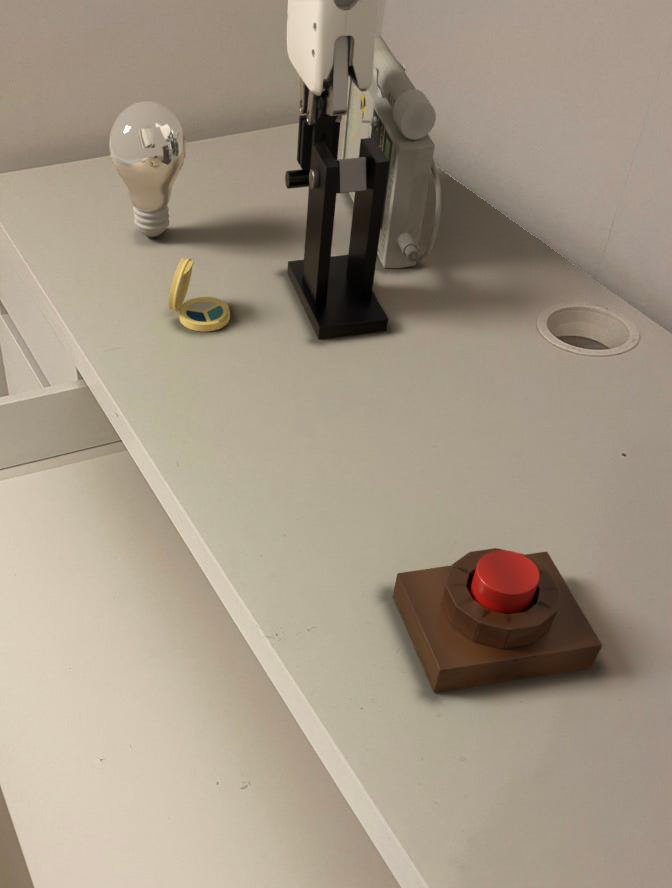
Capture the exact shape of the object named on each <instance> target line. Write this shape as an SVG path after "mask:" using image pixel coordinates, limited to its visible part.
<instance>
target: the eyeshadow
mask: <svg viewBox="0 0 672 888" xmlns="http://www.w3.org/2000/svg"><path fill="white" fill-rule="evenodd" d="M194 264H195V260H194V259H192V258H190V257H189V258H187V257H182V258H181V259H180V260H179V263H178V264H177V267H176V269H175V272H174V275H173V277H172V282H171V286H170V289H169V296H168V308H169V309H170V310H173V311H174V312H178V314H179V315H178V316H179V317H178V319H179V322H180V323H181V324H182V326H184V327H185V328H187V329H188V330H191V331H196V332H213V331H216V330H220V329H222V328H224V327H225V326H227V325H228V324H229V322H230V320H231V311H230V306H229V304H228V303H227V302H226V301H224V300H222V299H220V298H217V297H211V296H201V297H200V296H199V297H194V298H191V299H189V300H186V301H185V298H186V296H187V293H188V291H189V290H188V289H189V287H190V282H191V278H192V272H193V266H194ZM184 301H185V302H184Z"/></svg>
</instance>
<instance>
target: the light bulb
mask: <svg viewBox="0 0 672 888" xmlns="http://www.w3.org/2000/svg"><path fill="white" fill-rule="evenodd" d="M108 138H109V139H108V150H109V156H110V160H111V162H112V165H113V167H114V170H115V171H116V172H117V174H118V176H119V177H120V178H121V180H122V181H123V183H124V184H125V186H126V188H127V191H128V196H129V199H130V203H131V204H132V205H133V218H134V225H135V227H136V229H137V230H138V231H139V232H140V233H141V234H142V235H143V236H145V237H146V238H148V239H157V238H158V237H159V236H160V235H161V234H162V233H164V232H165V231H166V229H167V228H168V227H169V225H170V213H169V210H170V209H169V206H168V204H169V203H170V201H171V198H172V197H171V196H172V189H173V186H174V184H175V181H176V179H177V177H178V175H179V173H180V171H181V170H182V167H183V165H184V163H185V159H186V153H187V139H186V135H185V131H184V127H183V126H182V123H181V121H180V120H179V118H178V117H177V116H176V115H175V113H174V112H173V111H172V110H170V109H169V108H168V107H166V106H165V105H163V104H161V103H158V102H156V101H151V100H142V101H138V102H137V101H136V102H135V103H132V104H131V105H129V106H127V107H126V108H124V110H122V111H121V112H120V113H119V114H118V116H117V118H116V119H115V120H114V122H113V124H112V126H111V129H110V134H109V137H108Z"/></svg>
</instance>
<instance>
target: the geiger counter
mask: <svg viewBox="0 0 672 888" xmlns="http://www.w3.org/2000/svg"><path fill="white" fill-rule="evenodd" d="M406 70H407V66H406V65H405V64H404V63H402V64H401V63H400V61H399V60H397V57H396V56H395V55H394V53H393V52H392V51H391V49H390V47H389V46H388V44H387V43H386V41H385V39H384V38H383V37H382V35H381V34H379V33H375V47H374V62H373V75H372V83H371V86H370V88H369V89H368V90H367V91H364V92H362V91H360V90H359V89H358V87H357V86H356V85H355V84H354V82H353V81H352V80H351V78H350V77H349V76H348V98H347V114H346V115H344V127H343V136H342V137H343V138H342V149H341V159H350V158H359V151H360V141H361V139H365V138H373V139H374V141H375V142H376V143H377V145H378V146H379V148H380V149H381V150H382V152H383V153H384V155H385V156H386V158H387V159H388V160H389V167H388V175H387V182H386V190H385V198H384V205H383V213H382V221H381V228H380V236H379V243H378V251H377V257H378V258H379V260H380V263H381V265H382V267H383V268H384V269H403V268H408V267H413V266H416V265H417V262H420V261H423V260H425V259H426V258H427V257H428V256H429V255H430V254H431V252H432V250H433V248H434V247H433V246H434V244H435V241H436V237H437V235H438V232H439V231H438V230H439V225H440V219H441V211H442V188H441V187H442V186H441V180H440V175H439V173H438V169H437V166H436V163H435V160H434V152H435V146H436V145H435V143H434V141H433V139H432V138H431V136H430V132H431V131H432V130H433V128H434V126H435V123H436V119H437V113H436V110H435V107H434V106H433V105H432V103H431V102H430V100H429V99H428V97H427V96H426V95H425V93H424V92H423V91H422V90H420V89H417V88H416V87H415V85H414V84H413V82H412V80H411V79H410V77H408V75H407V73H406ZM431 174H432V177H433V181H434V186H435V187H434V188H435V212H434V219H433V226H432V231H431V233H430V237H429V240H428V243H427V246H426V248H425V251H424V252H422V253H421V254H420V253H419V248H420V242H421V241H420V240H421V235H422V229H423V222H424V216H425V209H426V204H427V197H428V190H429V186H430V185H429V184H430V178H431ZM349 197H350V198H351V201H352V202H353V203H354V197H355V192H349Z"/></svg>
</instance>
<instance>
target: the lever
mask: <svg viewBox="0 0 672 888" xmlns="http://www.w3.org/2000/svg"><path fill="white" fill-rule="evenodd" d="M335 161H336V163H337V164H338V166H339V172H338V183H337V193H336V194H347V193H349V192H358V191H366V190H367V183H366V157H360V158H350V159H342V158H341V159H337V160H335ZM309 173H310V170H309V171H303V170H302V168H301V169H292V170H286V171H285V174H284V176H285V177H284V182H285V187H286V189H288V190H290V189H299V188H309ZM349 194H350V193H349Z"/></svg>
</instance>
